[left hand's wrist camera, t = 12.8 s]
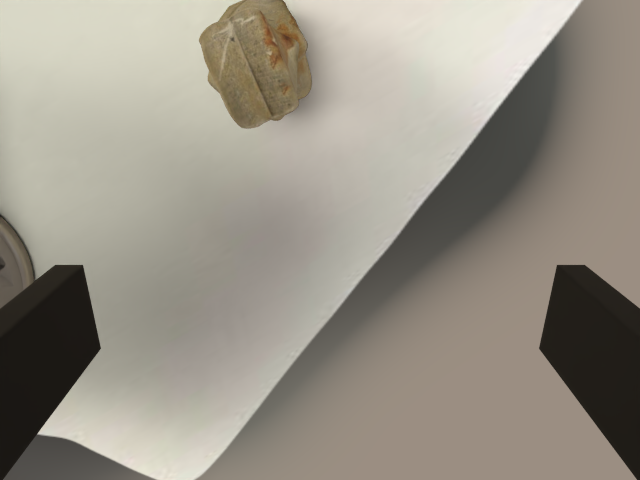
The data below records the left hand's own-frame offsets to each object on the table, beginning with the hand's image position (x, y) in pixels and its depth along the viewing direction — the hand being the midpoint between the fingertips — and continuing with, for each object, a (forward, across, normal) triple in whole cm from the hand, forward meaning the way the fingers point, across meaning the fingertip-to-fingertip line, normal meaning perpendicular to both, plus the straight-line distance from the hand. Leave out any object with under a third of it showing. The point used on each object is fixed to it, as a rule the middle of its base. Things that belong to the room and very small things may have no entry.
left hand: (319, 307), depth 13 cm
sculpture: (+26, +4, -7) cm, 27 cm away
